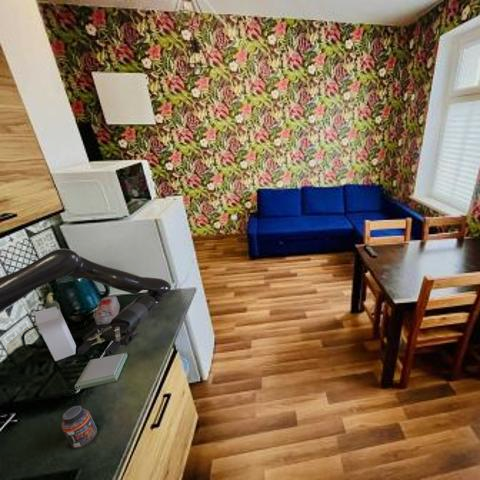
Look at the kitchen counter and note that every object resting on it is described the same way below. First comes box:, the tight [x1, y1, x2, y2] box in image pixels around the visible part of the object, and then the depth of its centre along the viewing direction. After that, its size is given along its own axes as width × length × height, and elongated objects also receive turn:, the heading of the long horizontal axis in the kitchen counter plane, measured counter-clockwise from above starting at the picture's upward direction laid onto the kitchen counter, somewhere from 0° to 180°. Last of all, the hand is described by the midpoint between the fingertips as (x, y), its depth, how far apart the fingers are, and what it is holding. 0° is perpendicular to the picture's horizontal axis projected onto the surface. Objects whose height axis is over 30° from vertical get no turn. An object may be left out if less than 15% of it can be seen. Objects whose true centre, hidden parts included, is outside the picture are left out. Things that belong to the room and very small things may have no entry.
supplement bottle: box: [61, 405, 98, 449], centre depth 76 cm, size 6×6×11 cm
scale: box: [74, 352, 129, 391], centre depth 98 cm, size 12×12×3 cm
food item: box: [93, 295, 121, 326], centre depth 125 cm, size 14×8×10 cm, turn 28°
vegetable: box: [44, 292, 69, 328], centre depth 115 cm, size 4×4×20 cm
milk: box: [33, 307, 77, 362], centre depth 102 cm, size 6×6×22 cm
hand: (92, 353), depth 80 cm, fingers open, 8 cm apart
